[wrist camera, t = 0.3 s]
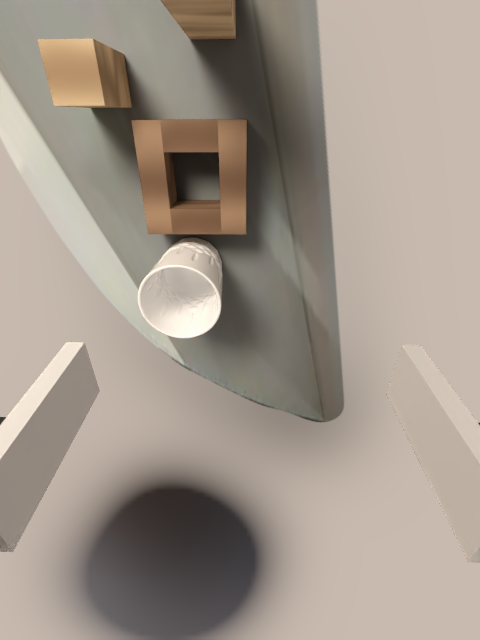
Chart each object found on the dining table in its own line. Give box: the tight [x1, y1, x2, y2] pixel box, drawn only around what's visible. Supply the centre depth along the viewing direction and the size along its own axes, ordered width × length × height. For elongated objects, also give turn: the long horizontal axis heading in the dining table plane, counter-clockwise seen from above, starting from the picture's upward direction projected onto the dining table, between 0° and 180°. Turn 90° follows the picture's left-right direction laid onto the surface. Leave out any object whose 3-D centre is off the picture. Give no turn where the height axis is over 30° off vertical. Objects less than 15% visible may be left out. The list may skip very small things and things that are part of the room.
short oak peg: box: [38, 39, 132, 108], centre depth 28 cm, size 4×4×7 cm
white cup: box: [138, 237, 222, 338], centre depth 36 cm, size 8×8×10 cm
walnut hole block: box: [131, 119, 247, 234], centre depth 33 cm, size 10×10×4 cm
